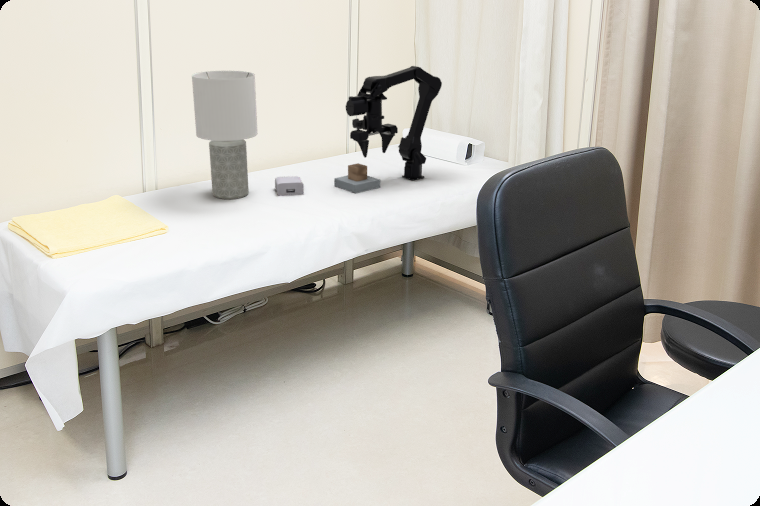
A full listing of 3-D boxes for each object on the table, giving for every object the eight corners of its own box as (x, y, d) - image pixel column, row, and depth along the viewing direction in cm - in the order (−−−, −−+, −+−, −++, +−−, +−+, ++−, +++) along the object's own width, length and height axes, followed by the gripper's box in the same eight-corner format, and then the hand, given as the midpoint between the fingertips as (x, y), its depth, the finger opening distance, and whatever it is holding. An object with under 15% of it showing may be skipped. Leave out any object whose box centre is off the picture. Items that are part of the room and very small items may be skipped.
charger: (298, 183, 277) (303, 195, 263) (273, 184, 275) (277, 196, 261) (298, 171, 275) (303, 182, 262) (273, 172, 273) (277, 183, 260)
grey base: (359, 180, 281) (359, 172, 280) (380, 187, 273) (380, 179, 272) (334, 186, 274) (334, 178, 273) (355, 193, 266) (355, 185, 265)
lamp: (238, 183, 276) (232, 69, 261) (271, 195, 262) (267, 75, 247) (189, 193, 262) (179, 74, 247) (222, 206, 249) (214, 81, 234)
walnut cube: (358, 176, 276) (358, 163, 274) (367, 179, 272) (367, 165, 270) (348, 178, 273) (348, 165, 271) (356, 181, 269) (356, 168, 267)
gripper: (378, 106, 279) (378, 146, 285) (339, 113, 267) (341, 155, 273) (398, 110, 271) (398, 152, 277) (359, 118, 260) (360, 161, 265)
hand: (374, 155), depth 273 cm, fingers open, 9 cm apart
